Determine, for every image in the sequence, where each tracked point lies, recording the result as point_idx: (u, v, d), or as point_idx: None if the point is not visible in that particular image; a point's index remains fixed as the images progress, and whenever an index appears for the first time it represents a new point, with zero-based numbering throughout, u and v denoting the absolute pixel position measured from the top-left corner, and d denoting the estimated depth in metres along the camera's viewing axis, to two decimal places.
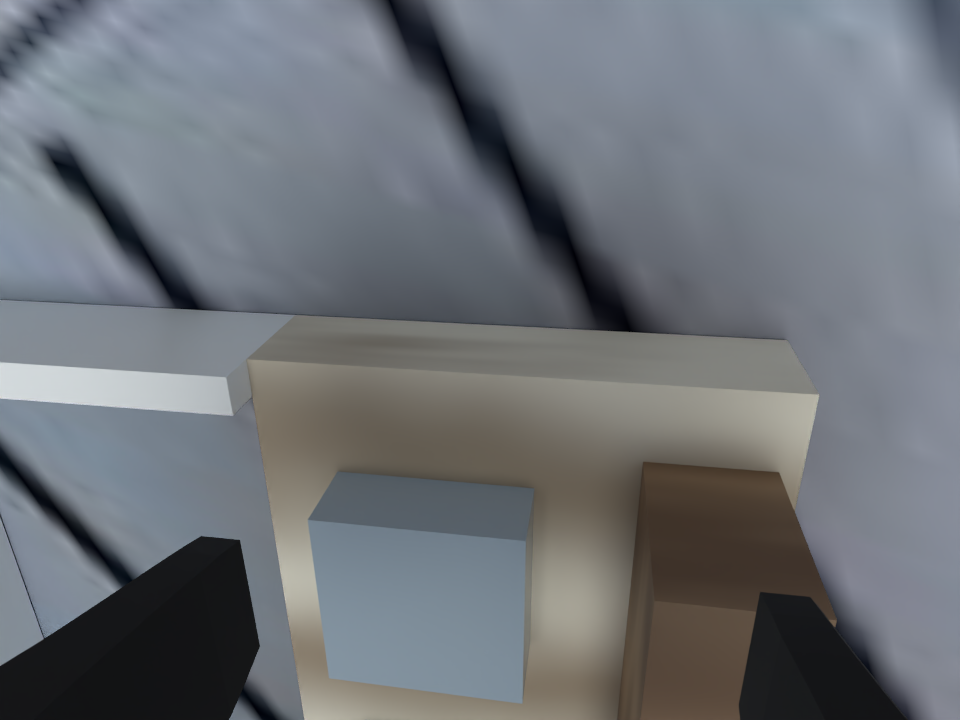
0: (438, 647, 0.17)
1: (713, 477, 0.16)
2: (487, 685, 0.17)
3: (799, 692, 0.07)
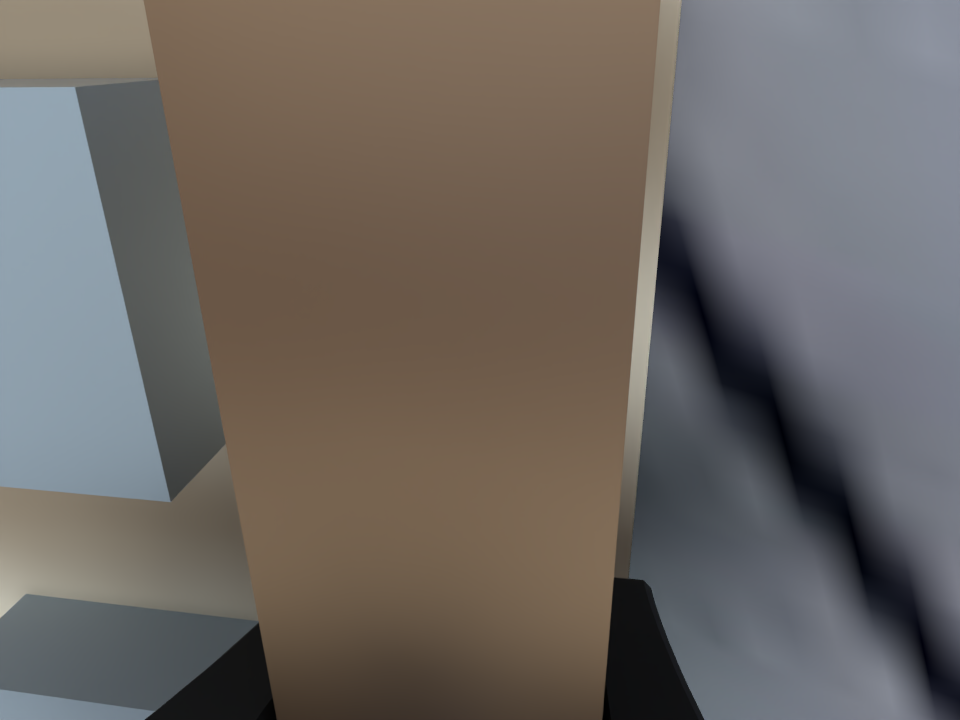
0: None
1: None
2: (101, 465, 0.09)
3: None
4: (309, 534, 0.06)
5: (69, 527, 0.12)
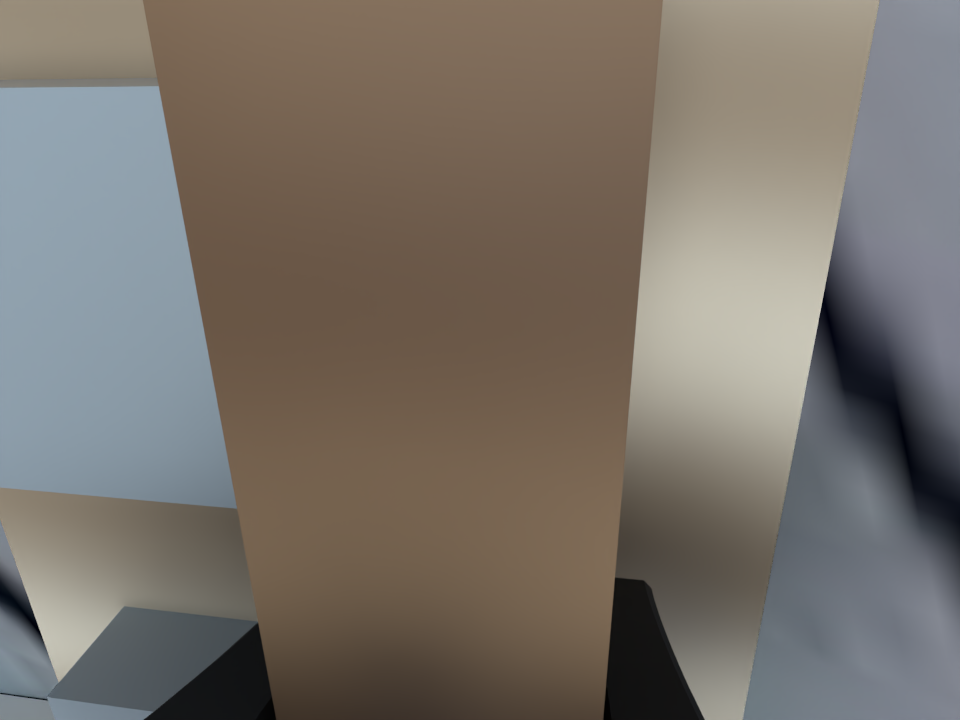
0: (141, 395, 0.09)
1: None
2: None
3: None
4: (309, 538, 0.06)
5: (175, 539, 0.12)
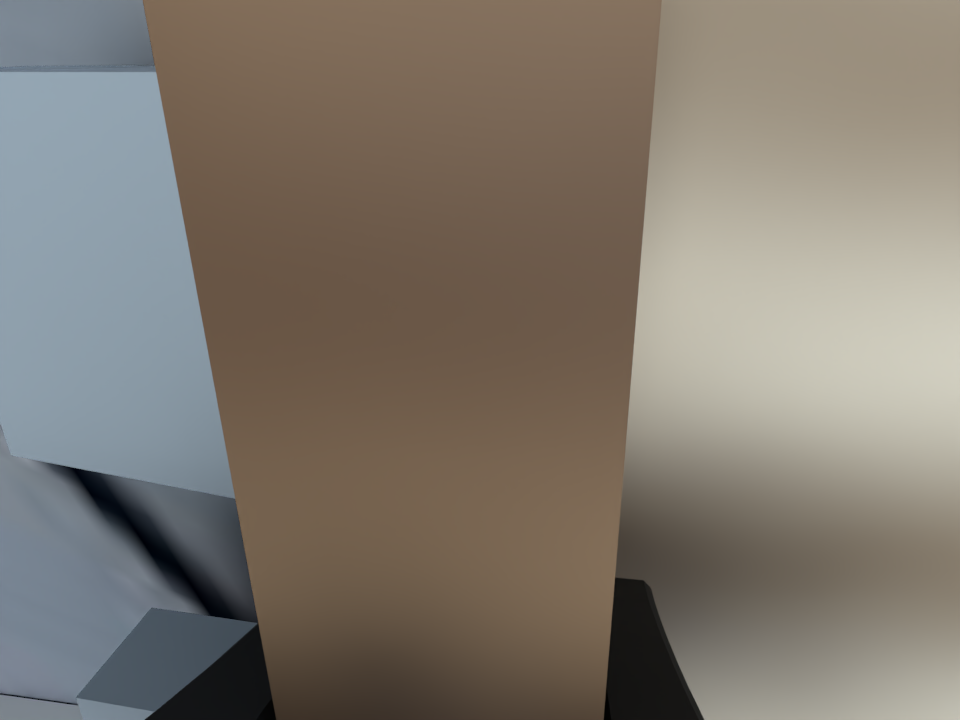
0: (163, 381, 0.09)
1: None
2: None
3: None
4: (310, 540, 0.06)
5: None
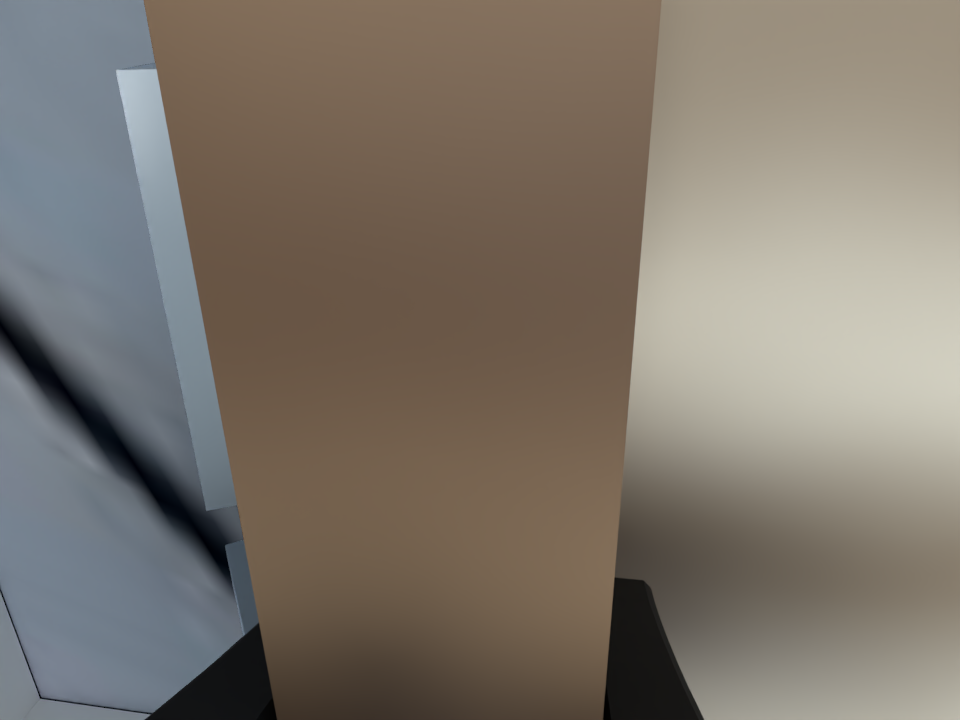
0: None
1: None
2: None
3: None
4: (310, 541, 0.06)
5: None
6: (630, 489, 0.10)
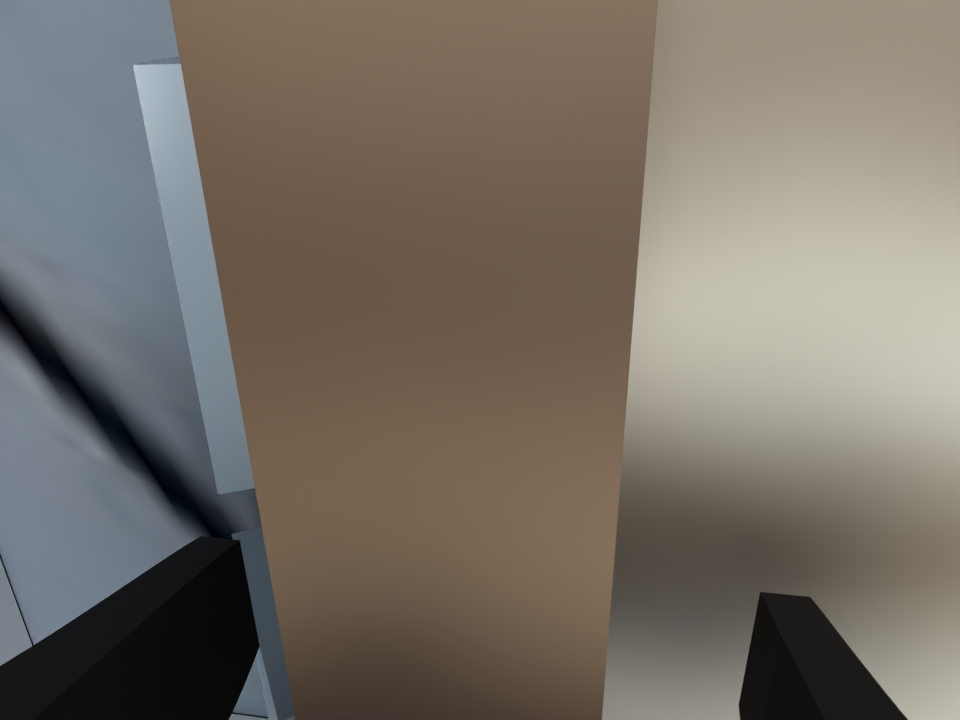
0: None
1: None
2: None
3: (799, 692, 0.07)
4: (324, 517, 0.06)
5: (638, 569, 0.11)
6: (630, 475, 0.11)
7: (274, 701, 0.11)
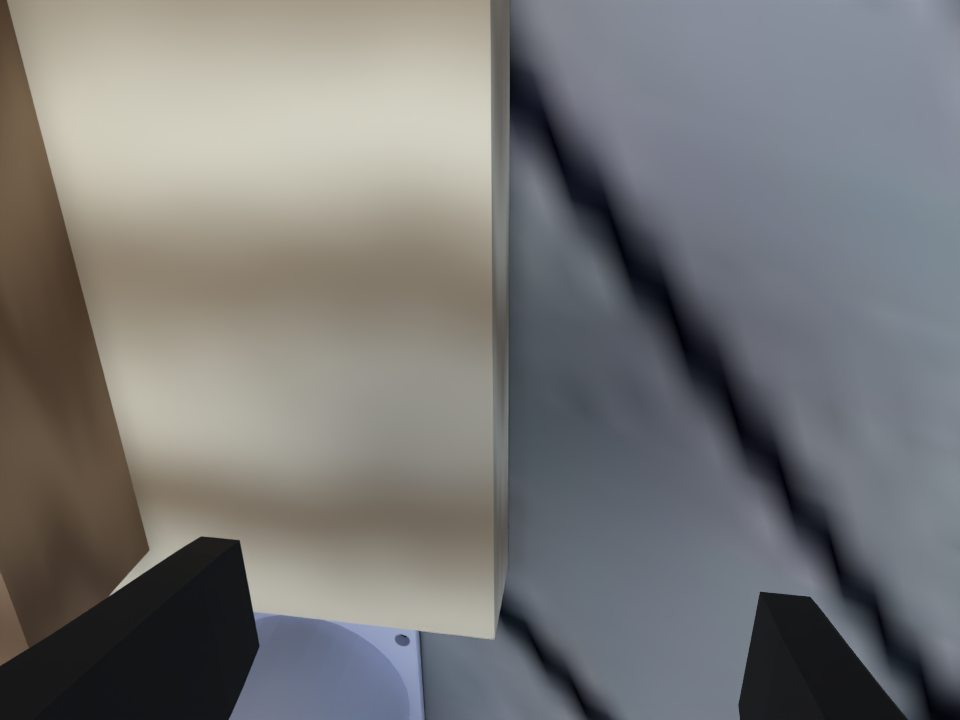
0: None
1: None
2: None
3: (799, 692, 0.07)
4: None
5: (106, 299, 0.17)
6: (79, 230, 0.17)
7: None
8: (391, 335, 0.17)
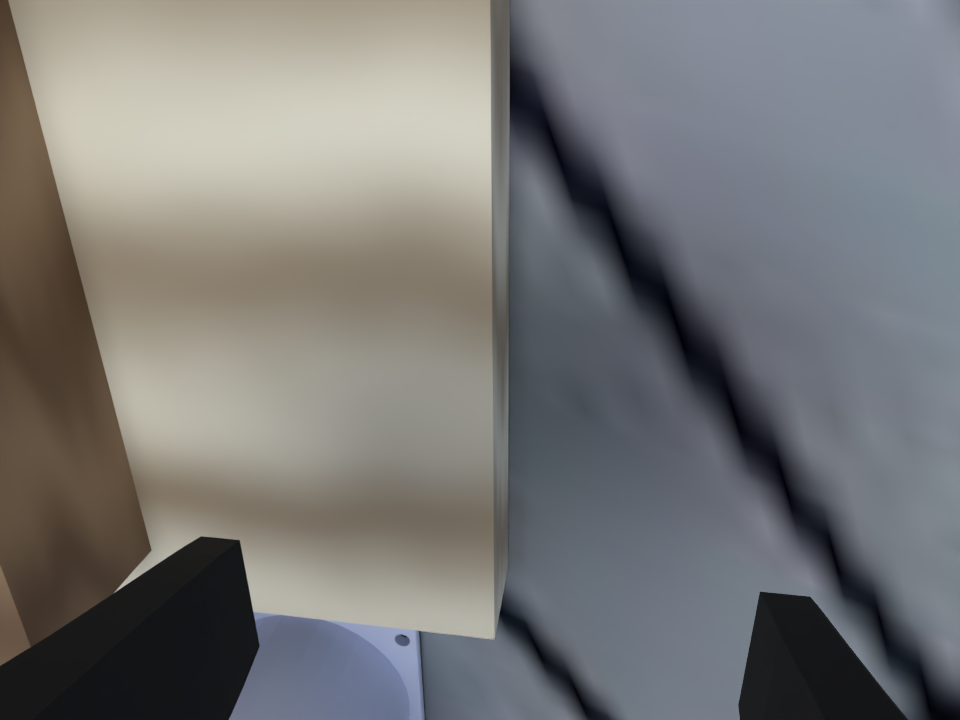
0: None
1: None
2: None
3: (799, 692, 0.07)
4: None
5: (106, 299, 0.17)
6: (79, 230, 0.17)
7: None
8: (391, 335, 0.17)
